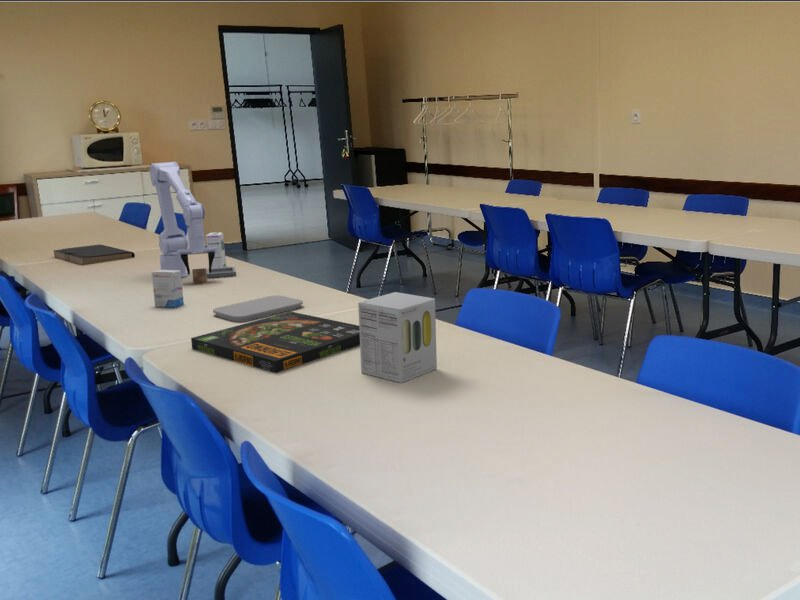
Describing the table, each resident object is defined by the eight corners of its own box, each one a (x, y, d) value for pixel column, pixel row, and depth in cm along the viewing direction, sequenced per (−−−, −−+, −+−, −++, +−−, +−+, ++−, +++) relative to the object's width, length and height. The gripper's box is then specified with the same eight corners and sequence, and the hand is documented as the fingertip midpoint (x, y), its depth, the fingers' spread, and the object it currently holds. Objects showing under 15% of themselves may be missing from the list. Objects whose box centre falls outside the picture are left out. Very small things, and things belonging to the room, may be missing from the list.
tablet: (209, 316, 255) (208, 309, 254) (276, 301, 272) (276, 294, 272) (239, 324, 243) (238, 317, 243) (307, 308, 261) (306, 301, 261)
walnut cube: (193, 284, 302) (192, 271, 301) (193, 282, 307) (192, 269, 306) (207, 283, 303) (206, 270, 302) (207, 281, 308) (206, 268, 307)
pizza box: (376, 341, 221) (375, 329, 220) (276, 375, 196) (275, 361, 195) (291, 322, 244) (290, 311, 243) (192, 350, 219) (191, 338, 218)
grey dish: (207, 278, 312) (206, 274, 311) (206, 273, 322) (206, 269, 322) (236, 276, 314) (235, 271, 314) (234, 271, 325) (234, 266, 324)
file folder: (52, 249, 373) (103, 243, 389) (53, 258, 374) (104, 251, 390) (80, 257, 349) (134, 250, 365) (81, 266, 350) (135, 259, 366)
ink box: (185, 304, 271) (181, 269, 268) (176, 308, 266) (172, 272, 263) (163, 303, 273) (159, 268, 271) (154, 306, 269) (150, 271, 266)
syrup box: (223, 269, 329) (220, 234, 326) (208, 270, 330) (205, 234, 326) (226, 266, 335) (223, 231, 332) (212, 267, 335) (209, 232, 332)
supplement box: (401, 384, 185) (398, 309, 181) (360, 373, 193) (356, 301, 189) (438, 369, 194) (436, 298, 190) (397, 359, 203) (394, 291, 199)
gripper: (175, 240, 296) (179, 276, 299) (216, 237, 299) (219, 273, 302) (176, 237, 302) (179, 273, 305) (216, 234, 306) (219, 270, 309)
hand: (199, 273), depth 304 cm, fingers open, 7 cm apart
